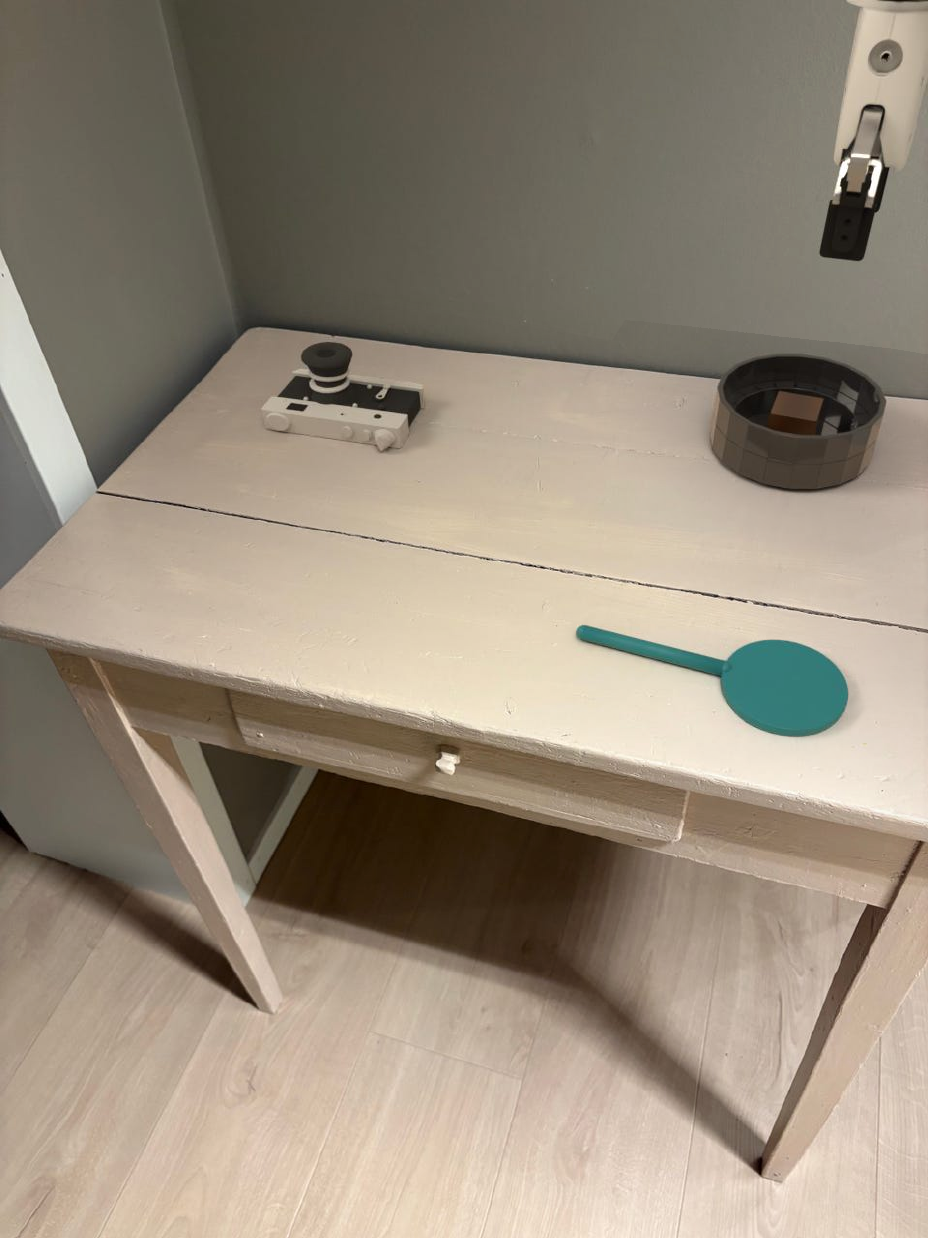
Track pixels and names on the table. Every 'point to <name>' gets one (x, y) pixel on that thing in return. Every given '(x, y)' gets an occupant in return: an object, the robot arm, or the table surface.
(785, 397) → the block
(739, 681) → the teal lollipop paddle
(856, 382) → the shallow round bowl
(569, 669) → the table surface
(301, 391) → the camera
